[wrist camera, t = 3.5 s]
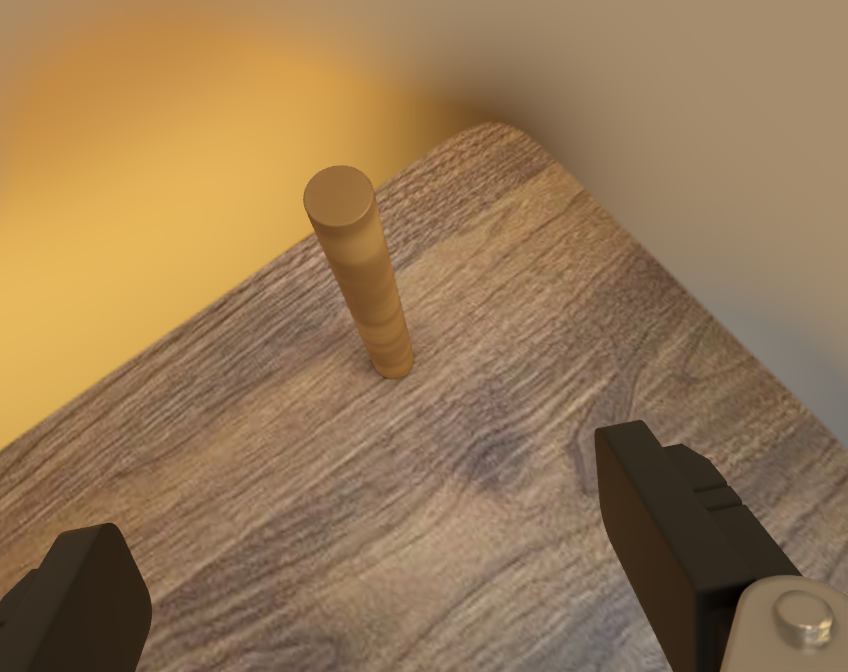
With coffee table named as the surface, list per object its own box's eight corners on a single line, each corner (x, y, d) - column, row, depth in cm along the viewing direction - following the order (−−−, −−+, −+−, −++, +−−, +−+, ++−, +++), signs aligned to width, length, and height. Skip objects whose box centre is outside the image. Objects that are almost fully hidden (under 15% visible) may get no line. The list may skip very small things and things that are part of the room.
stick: (410, 337, 34) (367, 158, 19) (417, 375, 33) (378, 218, 19) (370, 344, 34) (298, 171, 19) (376, 383, 33) (307, 232, 19)
